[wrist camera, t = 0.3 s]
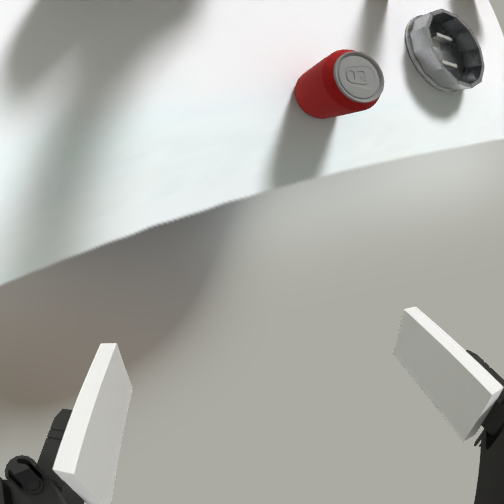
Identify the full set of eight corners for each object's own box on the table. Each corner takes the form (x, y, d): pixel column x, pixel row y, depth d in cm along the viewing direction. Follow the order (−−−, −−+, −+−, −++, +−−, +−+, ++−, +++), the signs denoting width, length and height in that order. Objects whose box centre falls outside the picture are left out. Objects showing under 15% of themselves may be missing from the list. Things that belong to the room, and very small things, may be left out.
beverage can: (343, 119, 36) (393, 111, 25) (295, 119, 35) (331, 108, 24) (338, 72, 34) (385, 49, 23) (290, 70, 33) (323, 41, 22)
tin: (397, 7, 31) (416, -3, 26) (456, 28, 32) (475, 22, 27) (412, 84, 35) (434, 80, 30) (469, 97, 37) (490, 96, 32)
